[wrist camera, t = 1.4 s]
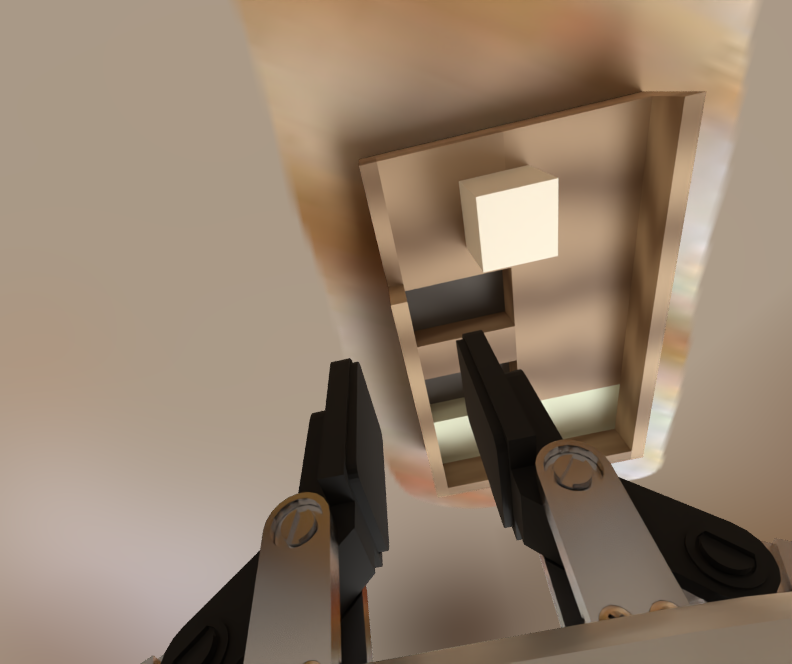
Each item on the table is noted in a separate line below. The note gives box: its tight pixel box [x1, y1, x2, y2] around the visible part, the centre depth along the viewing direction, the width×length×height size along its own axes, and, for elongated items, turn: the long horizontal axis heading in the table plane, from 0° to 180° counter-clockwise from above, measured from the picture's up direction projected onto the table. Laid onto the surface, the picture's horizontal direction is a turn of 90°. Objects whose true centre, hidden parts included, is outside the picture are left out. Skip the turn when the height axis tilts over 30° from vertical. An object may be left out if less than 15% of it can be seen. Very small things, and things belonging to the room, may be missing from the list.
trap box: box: [359, 92, 706, 498], centre depth 28 cm, size 26×17×5 cm, turn 12°
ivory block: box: [459, 165, 558, 273], centre depth 22 cm, size 4×4×4 cm
